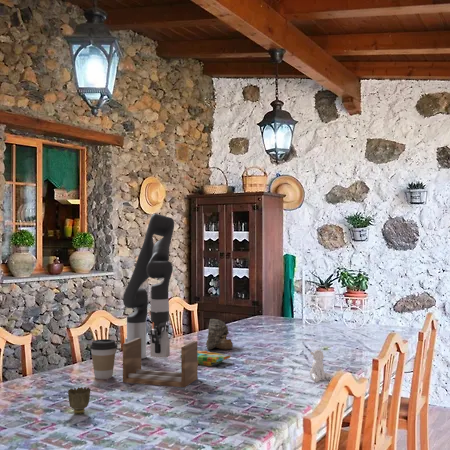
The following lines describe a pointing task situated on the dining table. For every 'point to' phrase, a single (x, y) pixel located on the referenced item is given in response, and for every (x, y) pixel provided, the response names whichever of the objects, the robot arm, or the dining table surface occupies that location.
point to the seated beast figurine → (318, 367)
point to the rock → (218, 335)
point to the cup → (79, 399)
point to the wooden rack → (136, 375)
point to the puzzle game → (210, 358)
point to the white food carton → (162, 346)
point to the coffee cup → (103, 357)
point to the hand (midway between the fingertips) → (159, 351)
